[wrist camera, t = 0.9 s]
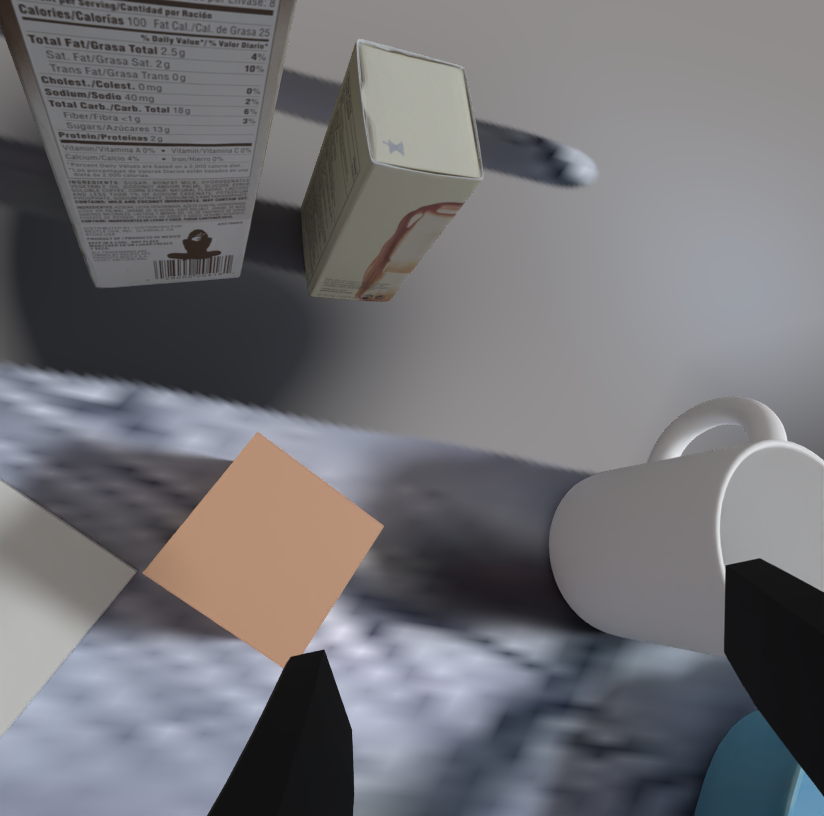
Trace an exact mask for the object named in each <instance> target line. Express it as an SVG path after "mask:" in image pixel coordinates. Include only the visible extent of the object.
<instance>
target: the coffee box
mask: <svg viewBox="0 0 824 816" xmlns="http://www.w3.org/2000/svg"><path fill="white" fill-rule="evenodd" d="M296 3H297V0H0V25H1V28H2V31H3V34H4V36H5V39H6V42H7V45H8V48H9V50H10V53H11V56H12V58H13V61H14V64H15V67H16V70H17V72H18V75H19V78H20V81H21V84H22V86H23V89H24V92H25V95H26V97H27V101H28V104H29V106H30V109H31V112H32V115H33V118H34V121H35V123H36V126H37V129H38V131H39V134H40V137H41V140H42V142H43V145H44V148H45V151H46V154H47V157H48V159H49V162H50V165H51V168H52V171H53V173H54V176H55V179H56V182H57V185H58V187H59V190H60V193H61V196H62V199H63V201H64V204H65V207H66V210H67V213H68V215H69V218H70V221H71V224H72V227H73V230H74V233H75V235H76V238H77V241H78V244H79V247H80V250H81V253H82V255H83V258H84V261H85V264H86V266H87V269H88V271H89V274H90V277H91V280H92V282H93V284H94V286H95V287H97V288H113V287H125V286H137V285H150V284H162V283H175V282H188V281H200V280H213V279H224V278H237V277H239V276H240V275H241V270H242V265H243V260H244V255H245V250H246V245H247V241H248V236H249V231H250V226H251V220H252V214H253V210H254V205H255V201H256V196H257V190H258V185H259V180H260V176H261V172H262V167H263V162H264V157H265V152H266V147H267V142H268V138H269V133H270V128H271V124H272V119H273V115H274V110H275V105H276V100H277V95H278V91H279V86H280V81H281V76H282V71H283V66H284V61H285V57H286V51H287V47H288V42H289V37H290V33H291V27H292V23H293V18H294V13H295V8H296Z"/></svg>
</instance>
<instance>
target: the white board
mask: <svg viewBox="0 0 824 816" xmlns="http://www.w3.org/2000/svg"><path fill="white" fill-rule="evenodd" d="M137 572H138V570H136V569H135V568H133V567H132V566H130V565H129V564H127V563H126V562H124V561H123V560H121V559H120V558H118V557H117V556H115V555H114V554H112V553H111V552H109V551H108V550H106V549H105V548H103V547H102V546H100V545H99V544H97V543H96V542H94V541H93V540H91V539H90V538H88V537H87V536H85V535H84V534H82V533H81V532H79V531H78V530H76V529H75V528H74V527H72V526H71V525H69V524H68V523H66V522H65V521H63V520H62V519H60V518H59V517H57V516H56V515H54V514H53V513H51V512H50V511H48V510H47V509H45V508H44V507H42V506H41V505H39V504H38V503H36V502H35V501H33V500H32V499H30V498H29V497H27V496H26V495H24V494H23V493H21V492H20V491H18V490H17V489H15V488H14V487H12V486H11V485H9V484H8V483H6V482H5V481H3V480H2V479H0V739H1V738H2V736H3V735H4V734H5V733H6V731H7V730H8V729H9V728H10V727H11V725H12V724H13V723H14V722H15V721H16V719H17V718H18V717H19V716H20V714H21V713H22V712H23V711H24V710H25V708H26V707H27V706H28V705H29V703H30V702H31V701H32V700H33V699H34V697H35V696H36V695H37V694H38V692H39V691H40V690H41V689H42V688H43V686H44V685H45V684H46V683H47V682H48V680H49V679H50V678H51V677H52V675H53V674H54V673H55V672H56V671H57V669H58V668H59V667H60V666H61V664H62V663H63V662H64V661H65V660H66V658H67V657H68V656H69V655H70V653H71V652H72V651H73V650H74V649H75V647H76V646H77V645H78V644H79V642H80V641H81V640H82V639H83V638H84V636H85V635H86V634H87V633H88V632H89V630H90V629H91V628H92V627H93V625H94V624H95V623H96V622H97V621H98V619H99V618H100V617H101V616H102V614H103V613H104V612H105V611H106V610H107V608H108V607H109V606H110V605H111V603H112V602H113V601H114V600H115V599H116V597H117V596H118V595H119V594H120V593H121V591H122V590H123V589H124V588H125V586H126V585H127V584H128V583H129V582H130V580H131V579H132V578H133V577H134V575H135V574H136V573H137Z"/></svg>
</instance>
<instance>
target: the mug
mask: <svg viewBox="0 0 824 816" xmlns="http://www.w3.org/2000/svg"><path fill="white" fill-rule="evenodd" d="M724 424H735V425H740V426H741V427H742V428H744V430H745V432H746V436H747V444H742V445H737V446H732V447H727V448H722V449H717V450H711V451H706V452H701V453H696V454H691V455H686V456H681V454H682V452H683V451H684V449H685V448H686V446H687V445H688V444H689V443H690V442H691V441H692V440H693V439H694V438H695V437H697V436H698V435H699V434H701V433H703V432H704V431H706V430H708V429H710V428H713V427H716V426H718V425H724ZM549 555H550V563H551V568H552V572H553V575H554V578H555V581H556V583H557V586H558V588H559V590H560V592H561V594H562V595H563V597H564V599H565V600H566V602H567V603H568V604H569V606H570V607H571V608H572V609H573V611H574V612H575V613H576V614H577V615H578V616H579V617H580V618H582V619H583V620H584V621H585V622H586V623H588V624H590V625H591V626H593V627H595V628H597V629H599V630H601V631H603V632H606V633H608V634H612V635H615V636H620V637H624V638H628V639H633V640H638V641H643V642H649V643H654V644H659V645H664V646H669V647H674V648H680V649H685V650H690V651H695V652H700V653H706V654H711V655H716V656H721V657H726V655H725V653H724V617H725V565H729V564H734V563H739V562H744V561H748V560H753V559H758V558H761V559H763V560H765V561H766V562H768V563H770V564H772V565H774V566H776V567H778V568H780V569H782V570H784V571H786V572H787V573H789V574H791V575H793V576H795V577H797V578H799V579H800V580H802V581H804V582H806V583H808V584H810V585H811V586H813V587H815V588H817V589H819V590H821V591H823V592H824V461H823V460H822V459H821V458H820V457H818V456H817V455H816V454H815V453H813V452H812V451H810V450H808V449H806V448H805V447H803V446H800V445H798V444H795V443H792V442H788V441H787V437H786V433H785V430H784V427H783V424H782V423H781V421H780V420H779V418H778V417H777V416H776V414H775V413H774V412H773V411H772V410H771V409H769V408H768V407H767V406H766V405H764V404H762V403H760V402H758V401H755V400H752V399H749V398H745V397H735V396H733V397H723V398H717V399H713V400H709V401H706V402H704V403H701V404H699V405H697V406H695V407H693V408H691V409H689V410H688V411H686V412H685V413H683V414H681V415H680V416H679V417H678V418H677V419H675V420H674V421H673V422H672V423H671V424H670V425H669V426H668V427H667V428H666V429H665V431H664V432H663V433H662V435H661V436H660V437H659V439H658V440H657V442H656V444H655V445H654V447H653V449H652V451H651V454H650V456H649V459H648V461H647V463H645V464H640V465H635V466H629V467H624V468H619V469H614V470H609V471H605V472H601V473H598V474H595V475H592V476H590V477H587V478H586V479H584V480H582V481H580V482H578V483H577V484H576V485H574V486H573V487H572V488H571V489H570V490H569V491H568V492H567V493H566V495H565V496H564V497H563V499H562V500H561V502H560V504H559V505H558V507H557V509H556V512H555V514H554V517H553V520H552V524H551V528H550V535H549ZM726 658H727V657H726Z"/></svg>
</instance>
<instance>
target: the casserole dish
mask: <svg viewBox="0 0 824 816" xmlns="http://www.w3.org/2000/svg"><path fill="white" fill-rule="evenodd" d="M694 816H824V796H823V795H822V794H821V792H820V791H819V790H818V789H817V787H816V786H815V785H814V783H813V782H812V781H811V779H810V778H809V777H808V775H807V774H806V773H805V771H804V770H803V769H802V768H801V766H800V765H799V764H798V762H797V761H796V760H795V758H794V757H793V756H792V754H791V753H790V752H789V750H788V749H787V748H786V746H785V745H784V744H783V742H782V741H781V740H780V738H779V737H778V736H777V734H776V733H775V732H774V730H773V729H772V728H771V726H770V725H769V724H768V722H767V721H766V720H765V718H764V717H763V716H762V714H761V713H760V711H759V710H756V711H754V712H752V713H750V714H748V715H747V716H745V717H743V718H742V719H740V720H739V721H738V722H737V723H736V724H735V725H734V726H733V727H732V728H731V729H730V730H729V731H728V733H727V734H726V736H725V737H724V738H723V740H722V741H721V743H720V744H719V746H718V748H717V750H716V752H715V754H714V756H713V758H712V761H711V763H710V766H709V768H708V770H707V773H706V776H705V779H704V782H703V785H702V789H701V792H700V796H699V799H698V802H697V806H696V809H695V814H694Z"/></svg>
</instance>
